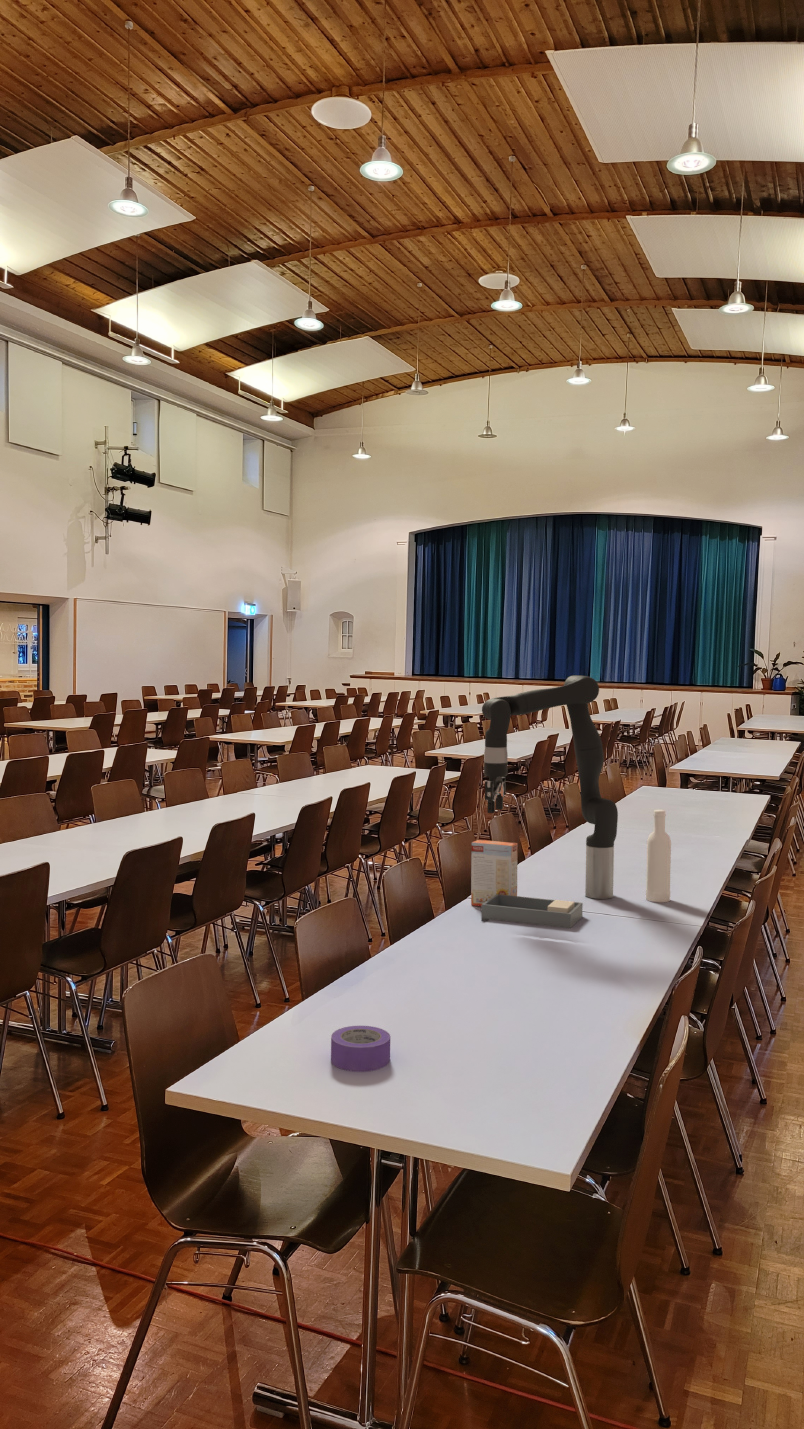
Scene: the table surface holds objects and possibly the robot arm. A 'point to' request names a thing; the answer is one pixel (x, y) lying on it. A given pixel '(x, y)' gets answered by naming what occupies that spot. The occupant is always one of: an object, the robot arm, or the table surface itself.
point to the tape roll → (360, 1048)
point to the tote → (528, 911)
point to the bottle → (658, 861)
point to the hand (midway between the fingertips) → (495, 811)
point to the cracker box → (493, 870)
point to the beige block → (561, 906)
